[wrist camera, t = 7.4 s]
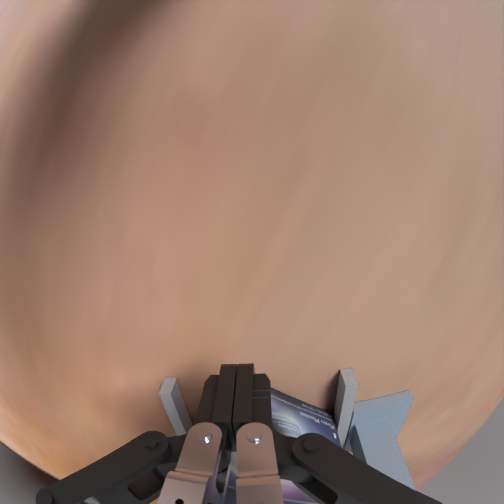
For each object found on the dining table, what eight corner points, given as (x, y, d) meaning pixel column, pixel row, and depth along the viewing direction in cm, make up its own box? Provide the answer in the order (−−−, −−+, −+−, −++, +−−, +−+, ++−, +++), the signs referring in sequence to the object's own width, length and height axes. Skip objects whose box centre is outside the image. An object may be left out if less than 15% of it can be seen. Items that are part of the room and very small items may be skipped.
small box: (338, 409, 21) (362, 507, 11) (293, 444, 23) (300, 532, 13) (236, 365, 20) (223, 487, 10) (198, 408, 22) (175, 509, 12)
